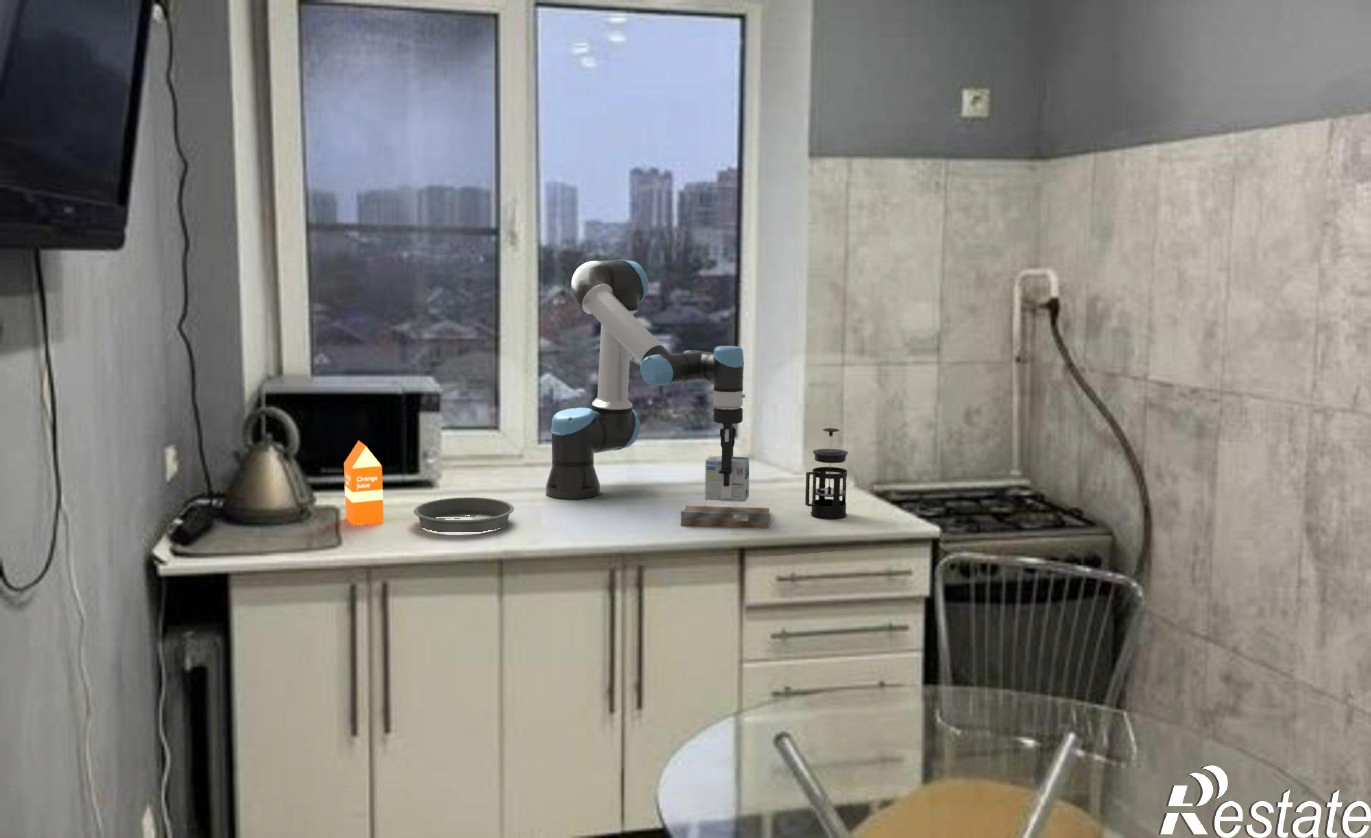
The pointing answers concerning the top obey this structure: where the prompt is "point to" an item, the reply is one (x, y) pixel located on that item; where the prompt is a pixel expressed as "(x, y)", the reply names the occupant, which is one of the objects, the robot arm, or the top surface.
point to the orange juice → (363, 487)
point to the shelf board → (725, 516)
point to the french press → (829, 506)
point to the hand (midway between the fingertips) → (727, 494)
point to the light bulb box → (738, 479)
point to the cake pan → (463, 514)
